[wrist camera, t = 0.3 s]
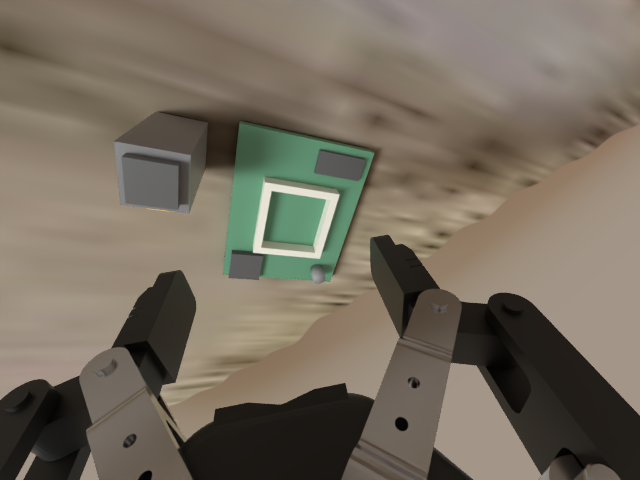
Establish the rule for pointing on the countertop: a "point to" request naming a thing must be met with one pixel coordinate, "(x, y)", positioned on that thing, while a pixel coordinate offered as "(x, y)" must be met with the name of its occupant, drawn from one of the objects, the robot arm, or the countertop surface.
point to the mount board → (291, 203)
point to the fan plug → (161, 162)
